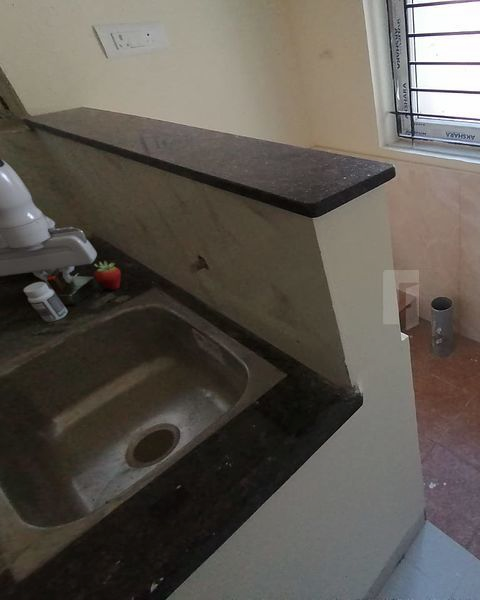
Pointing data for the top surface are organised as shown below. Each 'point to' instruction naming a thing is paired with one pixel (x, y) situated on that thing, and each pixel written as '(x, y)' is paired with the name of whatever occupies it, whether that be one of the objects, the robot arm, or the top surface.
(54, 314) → the pill bottle
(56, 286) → the dark red block
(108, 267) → the fruit
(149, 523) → the top surface
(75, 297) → the dial panel
